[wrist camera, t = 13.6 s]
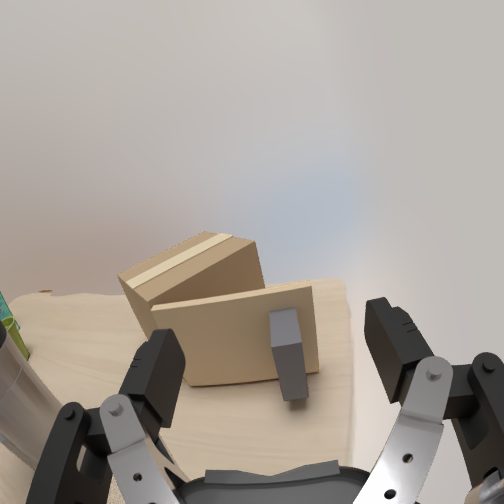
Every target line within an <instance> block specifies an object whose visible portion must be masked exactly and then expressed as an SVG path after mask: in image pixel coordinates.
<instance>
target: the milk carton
mask: <svg viewBox="0 0 504 504" xmlns="http://www.w3.org/2000/svg"><path fill="white" fill-rule="evenodd" d="M11 316H13V315H12V313H11V311H10V310H9V308H8V306H7V304H6V302H5V300H4V298H3V296H2V294H1V292H0V320H3V319H5V318H7V317H11ZM15 323H16V326H17V330H19V329H20V327H19V326H18V324H17V322H16V320H15Z"/></svg>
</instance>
